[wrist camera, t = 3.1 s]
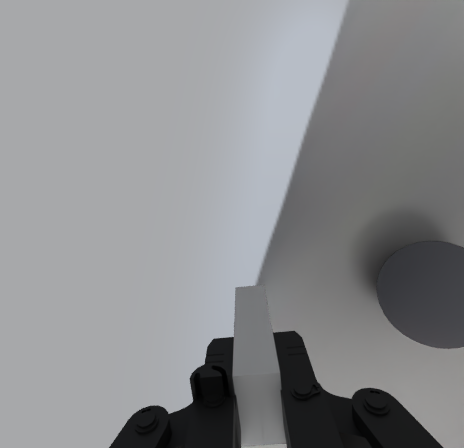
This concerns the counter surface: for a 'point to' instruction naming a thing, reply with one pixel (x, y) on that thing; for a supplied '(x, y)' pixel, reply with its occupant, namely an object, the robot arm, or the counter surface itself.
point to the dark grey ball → (425, 293)
